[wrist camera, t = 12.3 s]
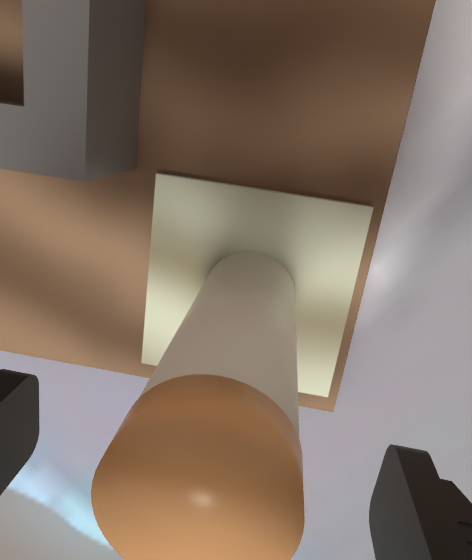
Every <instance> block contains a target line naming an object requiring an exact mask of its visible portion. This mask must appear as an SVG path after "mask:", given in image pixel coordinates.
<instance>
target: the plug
mask: <svg viewBox="0 0 472 560" xmlns="http://www.w3.org/2000/svg"><path fill="white" fill-rule="evenodd" d="M91 497H92V507H93V511H94V515H95V518H96V521H97V523H98V526H99V528H100V530H101V531H102V533H103V535H104V537H105V538H106V539H107V541H108V542H109V544H110V545H111V546H112V547H113V548H114V550H115V551H116V552H117V553H118V554H119V555H120V556H121V557H122V558H124V560H290V559H291V558H292V556H293V555H294V554H295V552H296V550H297V548H298V546H299V544H300V541H301V538H302V535H303V529H304V493H303V466H302V450H301V444H300V440H299V412H298V377H297V343H296V308H295V288H294V283H293V280H292V278H291V276H290V274H289V272H288V271H287V269H286V268H285V267H284V266H283V265H282V264H281V263H280V262H279V261H278V260H276V259H275V258H273V257H271V256H269V255H267V254H265V253H262V252H257V251H240V252H236V253H232V254H230V255H228V256H226V257H224V258H223V259H221V260H220V261H219V262H218V263H217V264H216V265H215V266H214V267H213V269H212V270H211V272H210V273H209V275H208V277H207V279H206V280H205V282H204V284H203V286H202V287H201V289H200V291H199V293H198V295H197V296H196V298H195V300H194V302H193V303H192V305H191V307H190V309H189V310H188V312H187V314H186V316H185V318H184V319H183V321H182V323H181V325H180V326H179V328H178V330H177V332H176V333H175V335H174V337H173V339H172V341H171V342H170V344H169V346H168V348H167V349H166V351H165V353H164V355H163V356H162V358H161V360H160V362H159V364H158V365H157V367H156V369H155V371H154V372H153V374H152V376H151V378H150V379H149V381H148V383H147V385H146V387H145V388H144V390H143V392H142V394H141V395H140V397H139V399H138V400H137V401H136V402H135V403H134V405H133V406H132V407H131V409H130V410H129V412H128V414H127V415H126V417H125V419H124V421H123V422H122V424H121V426H120V428H119V429H118V431H117V433H116V435H115V436H114V438H113V440H112V442H111V443H110V445H109V447H108V449H107V450H106V452H105V454H104V456H103V457H102V459H101V461H100V463H99V465H98V467H97V469H96V471H95V474H94V478H93V481H92V490H91Z"/></svg>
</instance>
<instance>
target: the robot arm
mask: <svg viewBox="0 0 472 560" xmlns="http://www.w3.org/2000/svg"><path fill="white" fill-rule="evenodd" d="M38 436H39V382H38V379H37V377H36V376H35V375H31V374H26V373H21V372H16V371H10V370H5V369H1V370H0V495H1V494H2V493H3V491H4V490H5V489H6V488H7V486H8V485H9V484H10V482H11V481H12V480H13V479H14V477H15V476H16V475H17V474H18V472H19V471H20V470H21V468H22V467H23V466H24V465H25V463H26V462H27V461H28V460H29V458H30V457H31V455H32V453H33V451H34V449H35V447H36V444H37V440H38ZM369 524H370V532H371V537H372V542H373V547H374V552H375V558H376V560H472V504H471V502H470V501H469V500H468V499H467V498H466V497H465V495H464V494H463V493H462V492H461V491H460V490H459V489H458V488H457V487H456V485H455V484H454V483H453V482H452V481H448V480H443V479H440V478H439V476H438V473H437V471H436V469H435V466H434V464H433V461H432V459H431V457H430V455H429V453H428V452H427V451H423V450H418V449H413V448H408V447H403V446H397V445H392V444H391V445H390V446H389V447H388V448H387V450H386V453H385V456H384V459H383V463H382V466H381V469H380V472H379V475H378V478H377V482H376V485H375V488H374V491H373V494H372V498H371V502H370V511H369Z"/></svg>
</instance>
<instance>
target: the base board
mask: <svg viewBox="0 0 472 560" xmlns="http://www.w3.org/2000/svg"><path fill="white" fill-rule="evenodd" d="M435 1H436V0H146V12H145V28H144V44H143V60H142V76H141V92H140V108H139V124H138V140H137V156H136V169H135V170H131V171H127V172H123V173H119V174H115V175H111V176H107V177H103V178H99V179H95V180H91V181H87V182H81V181H75V180H69V179H62V178H56V177H50V176H43V175H37V174H31V173H25V172H18V171H12V170H6V169H0V350H1V351H7V352H12V353H17V354H23V355H28V356H33V357H39V358H44V359H50V360H55V361H60V362H66V363H71V364H77V365H82V366H87V367H93V368H98V369H103V370H109V371H114V372H120V373H125V374H130V375H136V376H141V377H147V378H151V376H152V374H153V372H154V371H155V369H156V367H157V365H158V364H159V362H160V360H161V358H162V356H163V355H164V353H165V351H166V349H167V348H168V346H169V344H170V342H171V341H172V339H173V337H174V335H175V333H176V332H177V330H178V328H179V326H180V325H181V323H182V321H183V319H184V318H185V316H186V314H187V312H188V310H189V309H190V307H191V305H192V303H193V302H194V300H195V298H196V296H197V295H198V293H199V291H200V289H201V287H202V286H203V284H204V282H205V280H206V279H207V277H208V275H209V273H210V272H211V270H212V269H213V267H214V266H215V265H216V264H217V263H218V262H219V261H220V260H221V259H223V258H224V257H226V256H228V255H230V254H232V253H236V252H240V251H257V252H262V253H265V254H267V255H269V256H271V257H273V258H275V259H276V260H278V261H279V262H280V263H281V264H282V265H283V266H284V267H285V268H286V269H287V271H288V272H289V274H290V276H291V278H292V280H293V283H294V288H295V308H296V343H297V377H298V406H303V407H308V408H313V409H319V410H324V411H330V412H333V411H334V407H335V403H336V399H337V395H338V391H339V387H340V383H341V379H342V375H343V371H344V367H345V363H346V359H347V355H348V351H349V347H350V343H351V339H352V335H353V331H354V327H355V323H356V319H357V315H358V311H359V307H360V303H361V299H362V295H363V291H364V287H365V283H366V279H367V275H368V271H369V267H370V263H371V259H372V255H373V250H374V246H375V242H376V238H377V234H378V230H379V226H380V222H381V218H382V214H383V210H384V206H385V202H386V198H387V194H388V190H389V186H390V182H391V178H392V174H393V170H394V166H395V162H396V158H397V154H398V150H399V146H400V142H401V138H402V134H403V130H404V126H405V122H406V118H407V114H408V110H409V106H410V102H411V98H412V94H413V90H414V86H415V82H416V78H417V74H418V70H419V66H420V62H421V57H422V53H423V49H424V45H425V41H426V37H427V33H428V29H429V25H430V21H431V17H432V13H433V9H434V5H435ZM0 99H2V100H9V101H16V102H23V103H24V77H23V20H22V0H0Z"/></svg>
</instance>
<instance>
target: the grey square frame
mask: <svg viewBox="0 0 472 560" xmlns="http://www.w3.org/2000/svg"><path fill="white" fill-rule="evenodd" d="M145 12H146V0H22V20H23V77H24V103H23V102H16V101H9V100H2V99H0V169H6V170H12V171H18V172H25V173H31V174H37V175H43V176H50V177H56V178H62V179H69V180H75V181H81V182H87V181H91V180H95V179H99V178H103V177H107V176H111V175H115V174H119V173H123V172H127V171H131V170H135V169H136V156H137V140H138V124H139V108H140V92H141V76H142V60H143V44H144V28H145Z"/></svg>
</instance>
